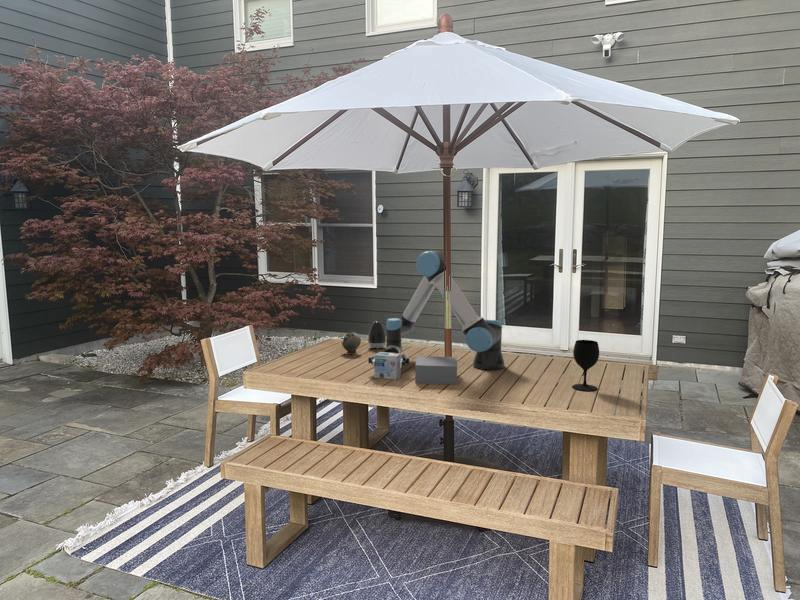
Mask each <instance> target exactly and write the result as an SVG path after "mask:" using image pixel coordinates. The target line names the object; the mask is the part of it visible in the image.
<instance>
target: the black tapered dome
mask: <svg viewBox="0 0 800 600" xmlns="http://www.w3.org/2000/svg"><path fill="white" fill-rule="evenodd" d="M367 342H368V344H369V347H370V348H372V349H374V348H377V350H379V348H380V349H382V348H383V347H385V346H386V331H385V328H384V326H383V323H382V322H381V321H379V320H377V321H371V326H370V329H369V332H368V336H367Z"/></svg>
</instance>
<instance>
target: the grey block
mask: <svg viewBox="0 0 800 600" xmlns="http://www.w3.org/2000/svg"><path fill="white" fill-rule="evenodd" d="M414 367H415V369H414V370H415V371H414V376H415V377H414V378H415V379H414V383H415V384H426V385H427V384H429V385H457V384H458V359H457V357H456V356H426V355H424V356H422V355H421V356H419V355H418V356H417V358H416V361H415V366H414Z"/></svg>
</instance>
